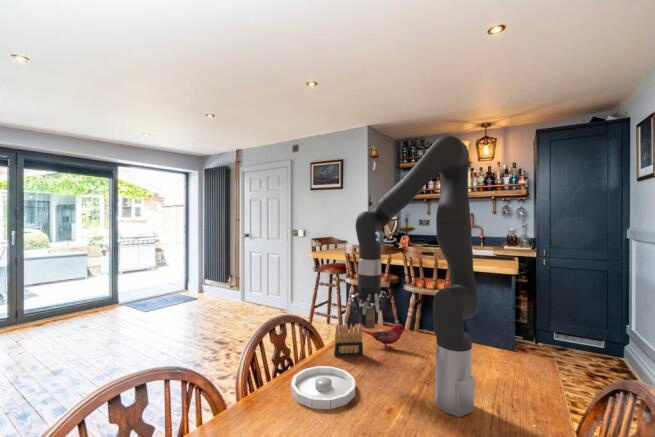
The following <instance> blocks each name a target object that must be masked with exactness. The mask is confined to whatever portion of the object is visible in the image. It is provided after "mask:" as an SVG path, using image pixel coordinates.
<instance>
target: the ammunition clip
mask: <svg viewBox="0 0 655 437" xmlns="http://www.w3.org/2000/svg"><path fill="white" fill-rule="evenodd" d="M339 328H340V329H339ZM353 328H354V329H353ZM362 330H363V326H362V325H361V324H360V323H359V325H357V323H355V324H354V327H353V323H350V325H349V326H348V323H346V324H345V329H344V325H343V323H341V325H340V327H339V324H338V323H337V324H336V325H335V334H334V349H333V350H334V351H333V352H334V354H333V355H334V357H336V358H337V357H339V358H340V357H359V356H360V357H363V356H364V351H363V350H364V349H363V347H364V346H363V331H362Z"/></svg>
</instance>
